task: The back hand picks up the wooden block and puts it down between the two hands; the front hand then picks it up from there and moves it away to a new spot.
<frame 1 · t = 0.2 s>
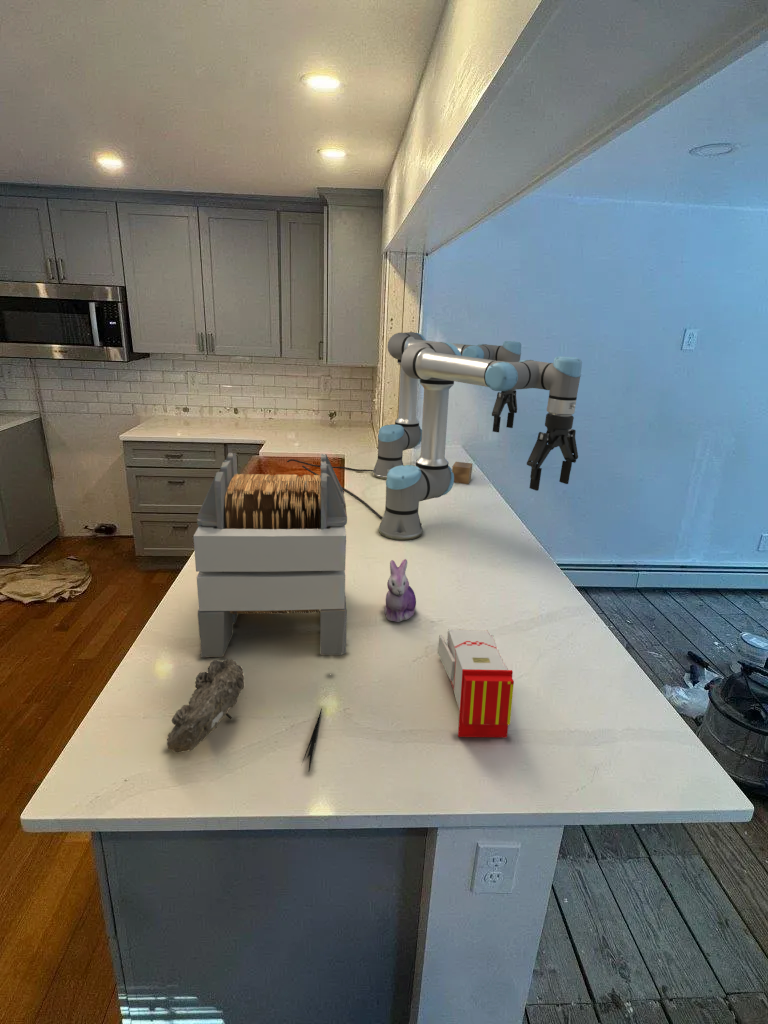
front hand: (549, 486, 167), 28 cm above the counter, tool pointing down, fingers open, 13 cm apart
back hand: (502, 429, 245), 27 cm above the counter, tool pointing down, fingers open, 13 cm apart
feather: (319, 719, 109), on the counter
figurine: (399, 614, 147), on the counter
record crate: (278, 619, 143), on the counter
toy: (469, 691, 119), on the counter
fossil: (212, 717, 108), on the counter
block: (461, 480, 266), on the counter
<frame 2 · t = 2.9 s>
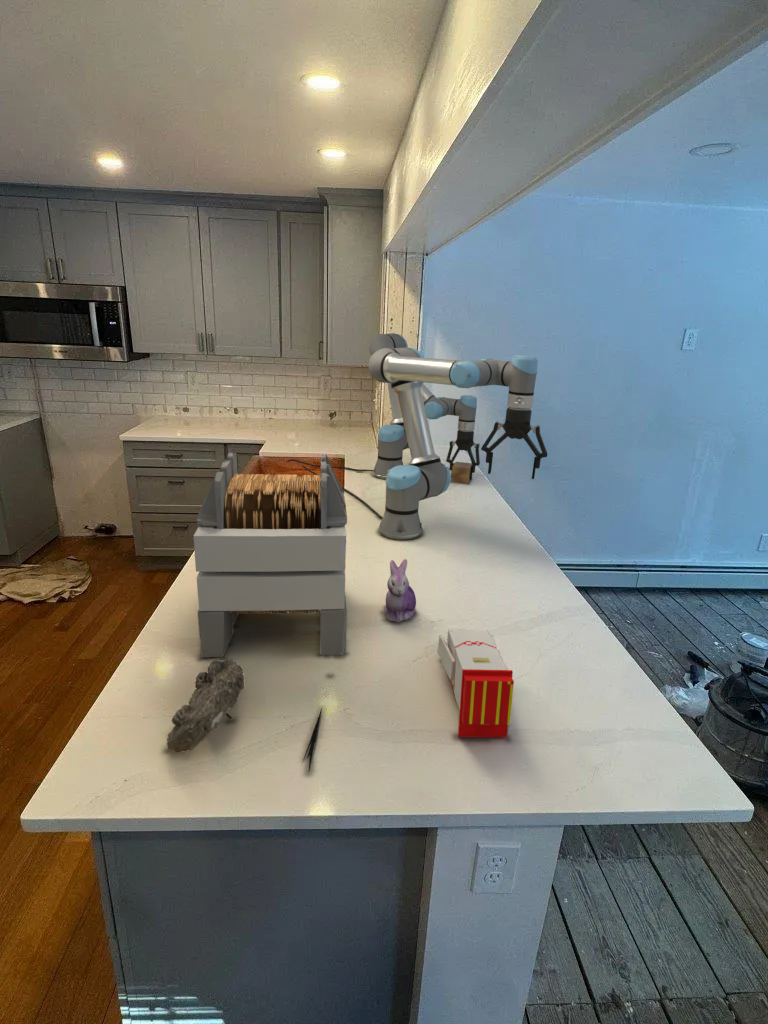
front hand: (510, 475, 180), 26 cm above the counter, tool pointing down, fingers open, 13 cm apart
back hand: (461, 478, 266), 1 cm above the counter, tool pointing down, fingers closed on block, 8 cm apart
block: (461, 480, 266), on the counter, touching back hand
everything else where it was.
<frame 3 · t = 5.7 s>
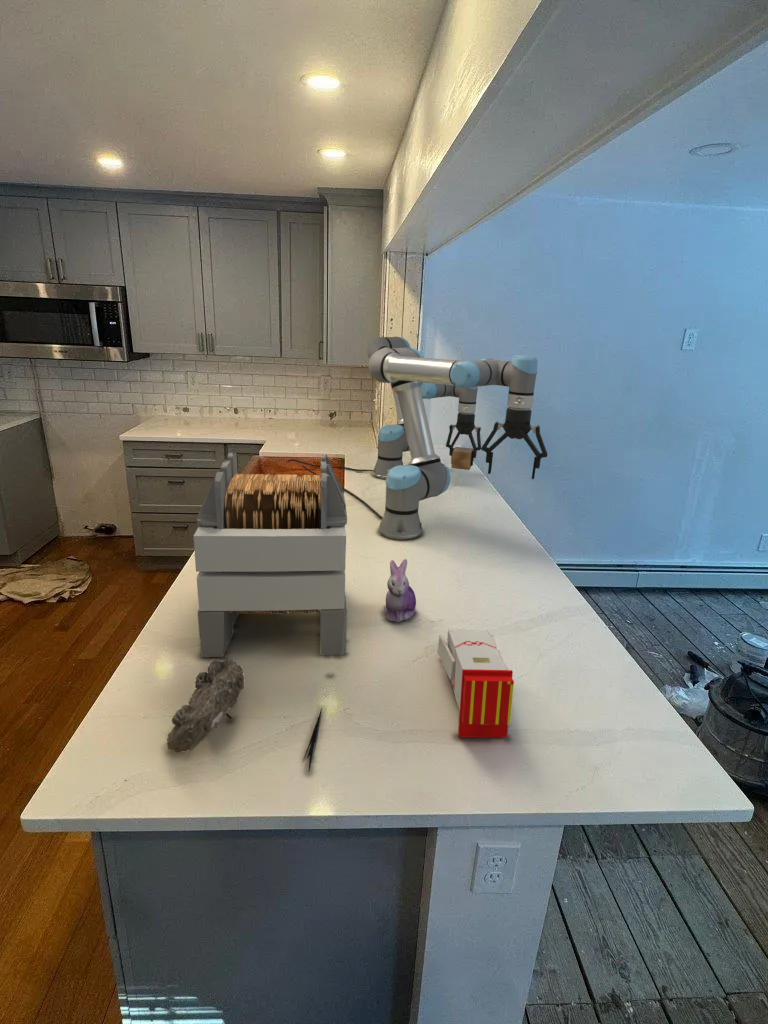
front hand: (510, 475, 180), 26 cm above the counter, tool pointing down, fingers open, 13 cm apart
back hand: (461, 463, 253), 11 cm above the counter, tool pointing down, fingers closed on block, 8 cm apart
block: (461, 466, 253), point 10 cm above the counter, touching back hand
everything else where it was.
when the back hand's fingers open (3 cm above the counter, at t = 8.4 s): block drops 2 cm, on the counter.
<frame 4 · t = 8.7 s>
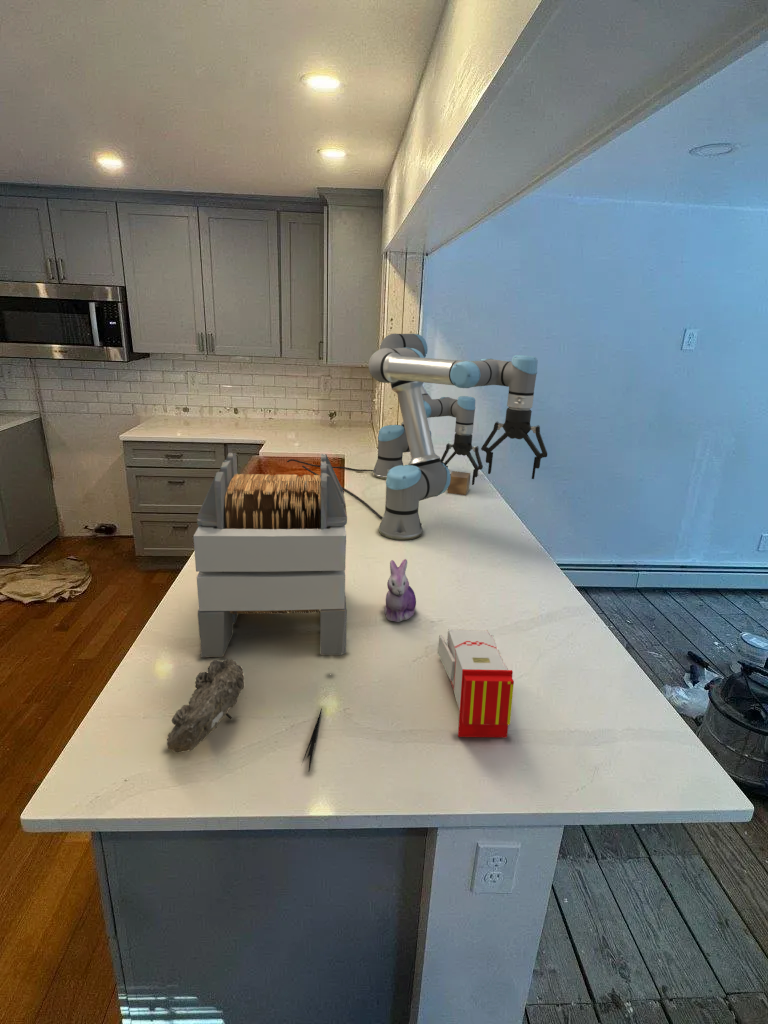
front hand: (510, 475, 180), 26 cm above the counter, tool pointing down, fingers open, 13 cm apart
back hand: (459, 482, 249), 4 cm above the counter, tool pointing down, fingers open, 11 cm apart
block: (458, 491, 250), on the counter
everything else where it was.
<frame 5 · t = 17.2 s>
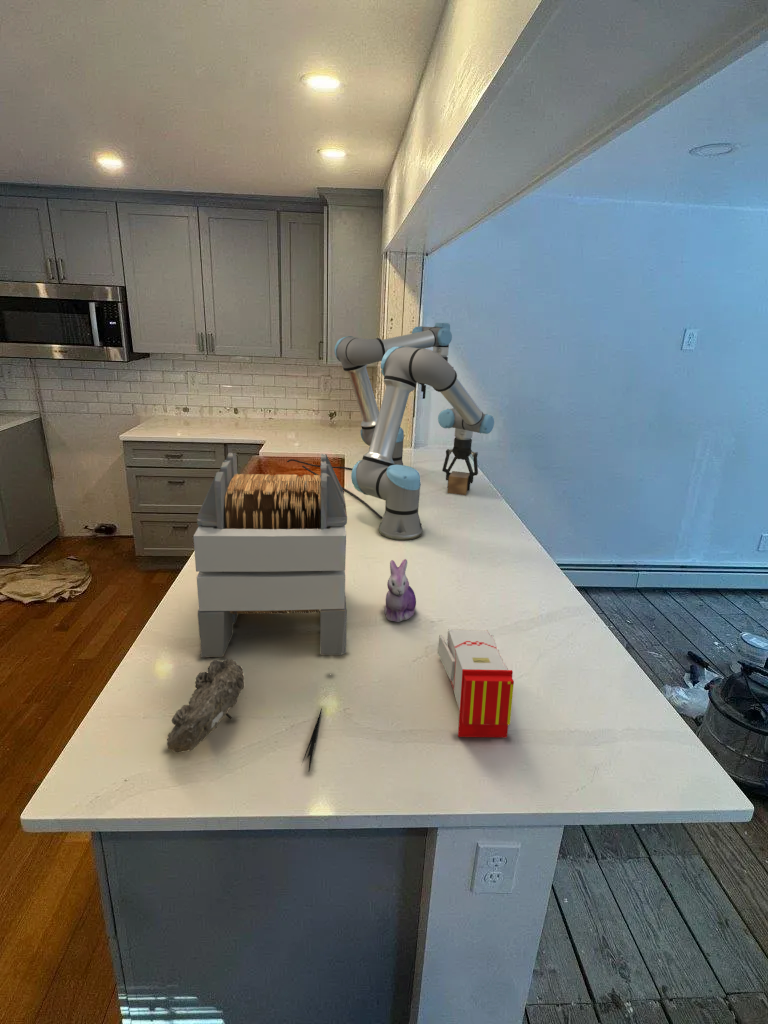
front hand: (458, 488, 250), 1 cm above the counter, tool pointing down, fingers closed on block, 8 cm apart
back hand: (437, 399, 285), 32 cm above the counter, tool pointing down, fingers open, 13 cm apart
block: (458, 491, 250), on the counter, touching front hand
everything else where it was.
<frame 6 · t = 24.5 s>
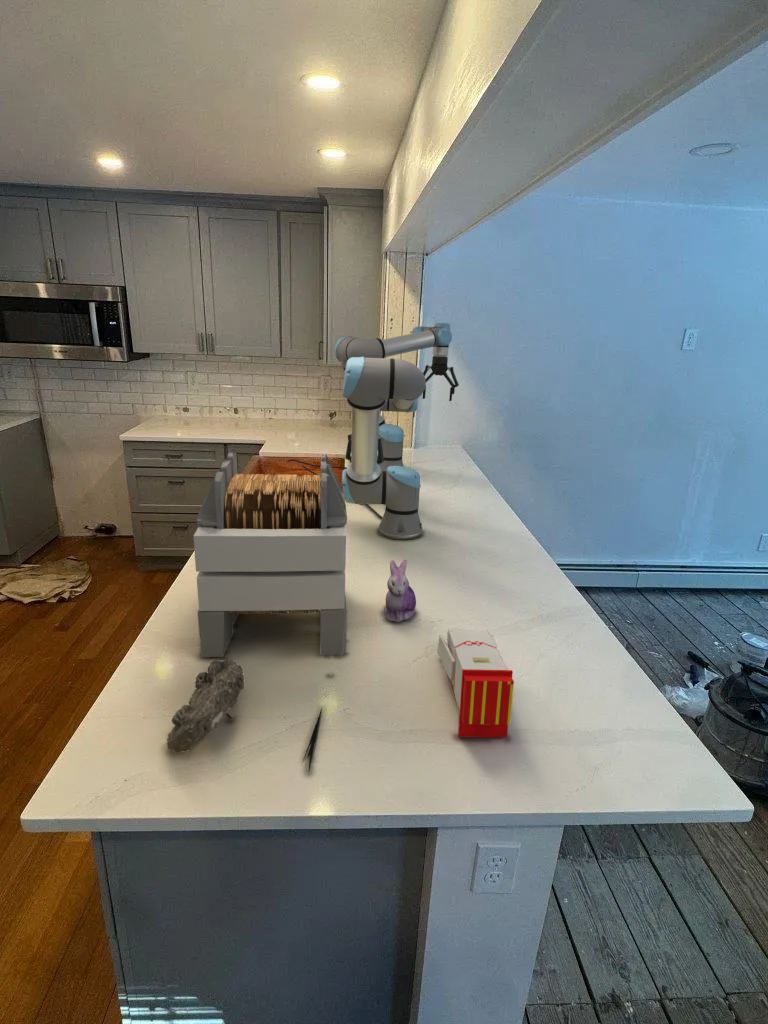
front hand: (363, 478, 225), 11 cm above the counter, tool pointing down, fingers closed on block, 8 cm apart
back hand: (437, 399, 285), 32 cm above the counter, tool pointing down, fingers open, 13 cm apart
block: (363, 481, 226), point 9 cm above the counter, touching front hand
everything else where it was.
when the front hand's fingers open (3 cm above the counter, at t = 32.0 s): block drops 2 cm, on the counter.
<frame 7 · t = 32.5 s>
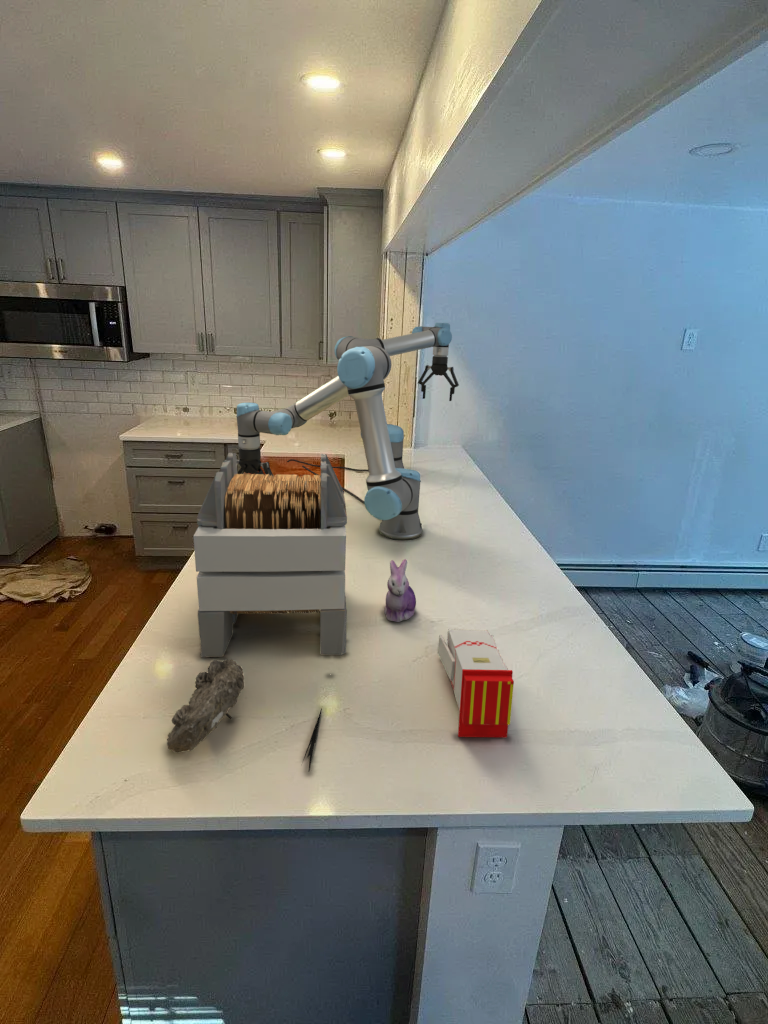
front hand: (252, 504, 207), 5 cm above the counter, tool pointing down, fingers open, 13 cm apart
back hand: (437, 399, 285), 32 cm above the counter, tool pointing down, fingers open, 13 cm apart
block: (252, 517, 209), on the counter
everything else where it was.
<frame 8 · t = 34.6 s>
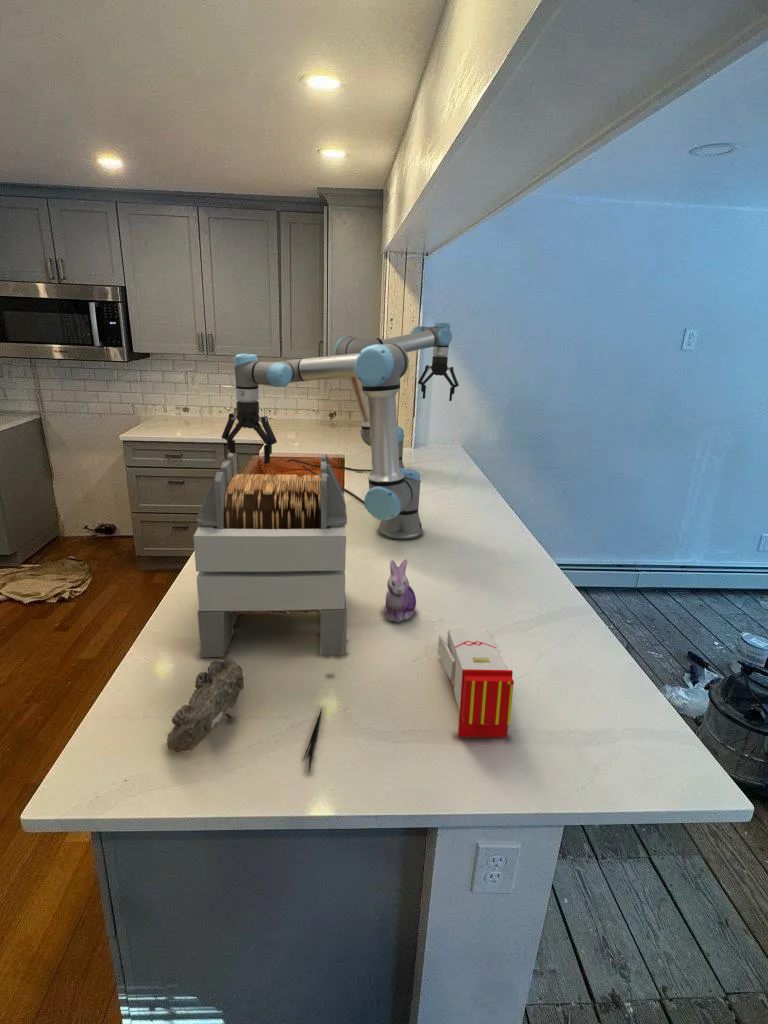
front hand: (249, 461, 201), 22 cm above the counter, tool pointing down, fingers open, 13 cm apart
back hand: (437, 399, 285), 32 cm above the counter, tool pointing down, fingers open, 13 cm apart
nothing on the counter moved.
at the end: block inside the target area (0.1 cm from its centre), on the counter; block tilted 0°; the two hands never held the block at the same time; the front hand is holding nothing; the back hand is holding nothing; block at rest at the end (0.0 cm/s) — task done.
